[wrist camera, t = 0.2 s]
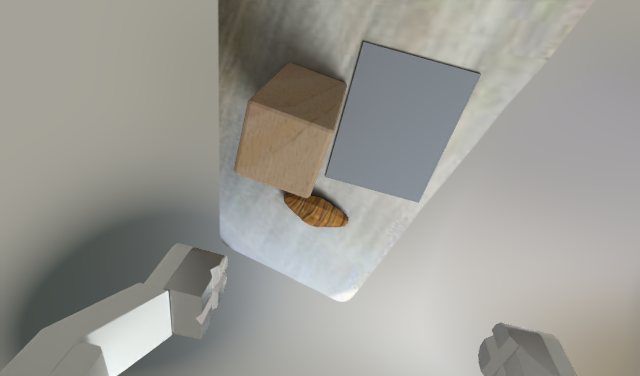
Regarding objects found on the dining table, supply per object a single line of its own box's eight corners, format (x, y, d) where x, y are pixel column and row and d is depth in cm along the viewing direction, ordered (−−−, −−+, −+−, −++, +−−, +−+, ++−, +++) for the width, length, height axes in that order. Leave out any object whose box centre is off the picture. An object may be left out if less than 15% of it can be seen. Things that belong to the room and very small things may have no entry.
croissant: (355, 205, 66) (354, 220, 61) (341, 229, 69) (339, 245, 65) (291, 178, 65) (285, 192, 60) (280, 204, 68) (274, 219, 64)
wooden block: (273, 117, 58) (231, 173, 42) (288, 60, 53) (247, 98, 36) (327, 137, 59) (308, 200, 42) (348, 83, 54) (334, 130, 37)
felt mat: (363, 41, 50) (363, 41, 50) (480, 74, 50) (480, 74, 50) (325, 176, 63) (325, 176, 63) (418, 201, 63) (418, 202, 63)
